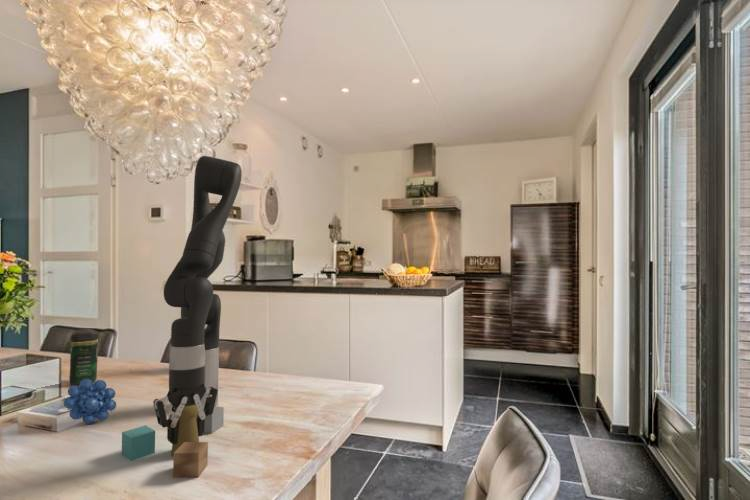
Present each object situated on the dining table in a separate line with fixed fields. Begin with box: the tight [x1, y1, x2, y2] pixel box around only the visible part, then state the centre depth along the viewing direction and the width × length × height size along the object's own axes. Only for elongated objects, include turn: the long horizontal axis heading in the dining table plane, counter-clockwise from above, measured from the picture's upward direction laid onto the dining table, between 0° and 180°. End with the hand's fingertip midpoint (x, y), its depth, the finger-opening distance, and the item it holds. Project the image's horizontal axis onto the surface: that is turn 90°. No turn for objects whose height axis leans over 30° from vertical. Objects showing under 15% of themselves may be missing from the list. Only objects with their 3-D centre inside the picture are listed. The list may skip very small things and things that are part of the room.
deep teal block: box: [121, 425, 156, 462], centre depth 94 cm, size 5×5×5 cm
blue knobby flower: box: [63, 379, 117, 425], centre depth 110 cm, size 12×7×12 cm, turn 128°
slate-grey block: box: [196, 405, 225, 434], centre depth 108 cm, size 5×5×5 cm
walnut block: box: [172, 441, 209, 479], centre depth 87 cm, size 5×5×5 cm
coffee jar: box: [69, 328, 99, 387], centre depth 147 cm, size 10×8×19 cm
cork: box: [170, 404, 200, 458], centre depth 95 cm, size 6×6×11 cm
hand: (186, 438), depth 95 cm, fingers open, 5 cm apart
